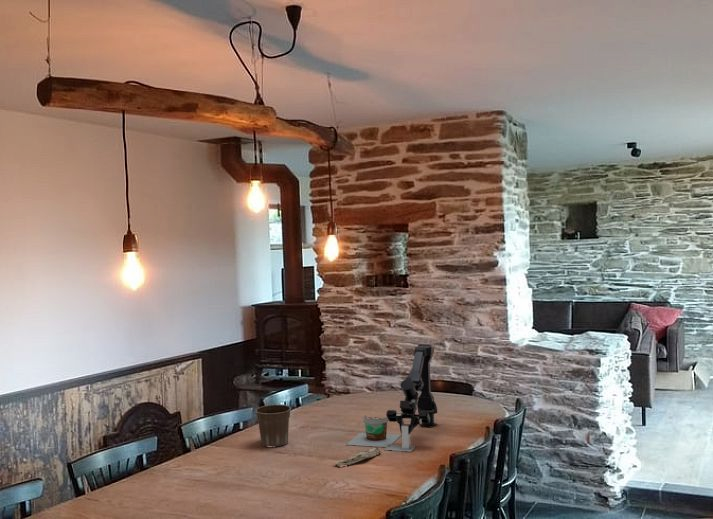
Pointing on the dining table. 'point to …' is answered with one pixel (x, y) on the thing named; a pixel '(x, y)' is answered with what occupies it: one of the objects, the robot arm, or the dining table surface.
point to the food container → (375, 428)
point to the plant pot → (273, 424)
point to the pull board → (386, 441)
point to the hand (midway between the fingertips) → (405, 433)
